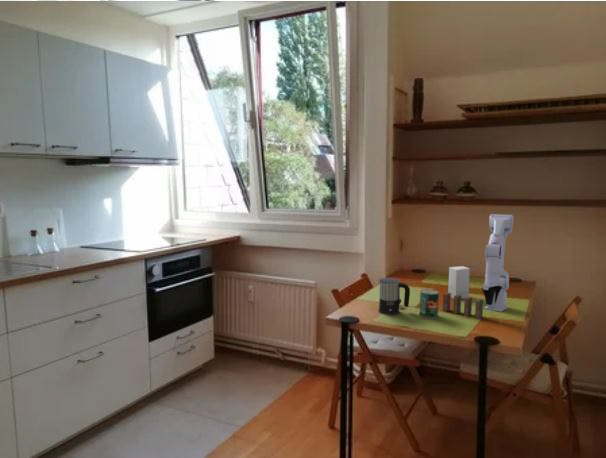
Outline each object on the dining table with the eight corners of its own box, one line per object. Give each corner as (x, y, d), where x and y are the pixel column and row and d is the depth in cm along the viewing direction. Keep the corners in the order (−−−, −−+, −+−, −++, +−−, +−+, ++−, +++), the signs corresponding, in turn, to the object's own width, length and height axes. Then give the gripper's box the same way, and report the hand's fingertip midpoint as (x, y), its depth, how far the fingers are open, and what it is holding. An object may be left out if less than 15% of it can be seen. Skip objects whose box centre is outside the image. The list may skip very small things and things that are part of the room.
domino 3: (467, 313, 203) (468, 296, 202) (471, 314, 202) (472, 297, 201) (463, 315, 200) (464, 298, 199) (467, 316, 199) (468, 298, 198)
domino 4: (478, 316, 200) (479, 298, 199) (482, 317, 199) (483, 299, 198) (474, 318, 197) (475, 300, 196) (478, 319, 196) (479, 301, 195)
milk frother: (383, 315, 200) (384, 282, 198) (369, 305, 215) (369, 275, 213) (412, 313, 204) (413, 281, 202) (396, 303, 219) (397, 273, 217)
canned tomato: (423, 311, 206) (424, 288, 204) (440, 315, 201) (441, 291, 199) (416, 316, 200) (417, 291, 198) (433, 319, 195) (434, 294, 193)
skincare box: (460, 295, 235) (462, 265, 233) (469, 298, 228) (470, 268, 227) (447, 296, 232) (448, 266, 230) (455, 299, 226) (456, 269, 224)
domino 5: (490, 307, 196) (491, 289, 195) (494, 308, 195) (495, 290, 194) (487, 309, 193) (488, 291, 192) (490, 310, 192) (492, 291, 191)
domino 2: (457, 311, 207) (457, 294, 206) (460, 312, 206) (461, 295, 205) (453, 313, 204) (453, 296, 203) (456, 314, 203) (457, 296, 202)
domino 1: (446, 309, 210) (447, 292, 209) (450, 309, 209) (450, 293, 208) (442, 311, 207) (443, 294, 206) (446, 311, 206) (446, 294, 205)
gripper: (495, 276, 184) (493, 308, 186) (508, 271, 194) (507, 301, 196) (478, 273, 189) (477, 305, 190) (492, 268, 199) (490, 298, 201)
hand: (491, 303), depth 194 cm, fingers closed on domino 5, 4 cm apart
